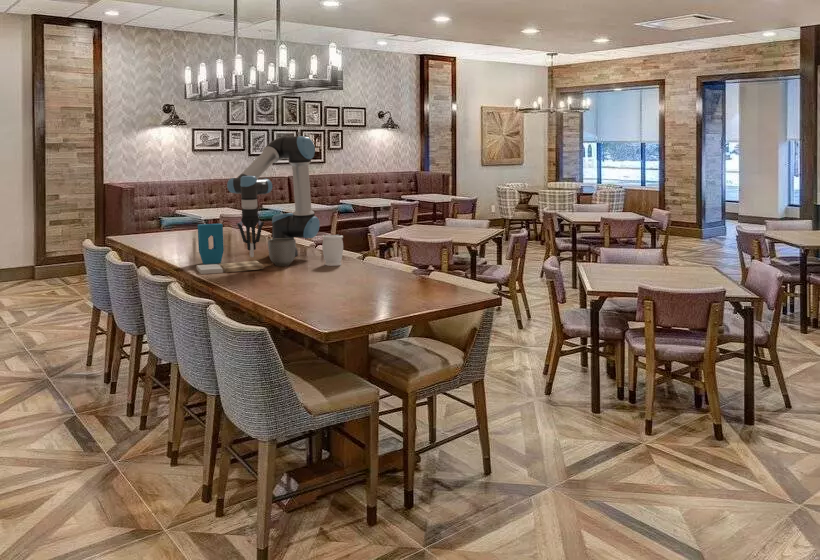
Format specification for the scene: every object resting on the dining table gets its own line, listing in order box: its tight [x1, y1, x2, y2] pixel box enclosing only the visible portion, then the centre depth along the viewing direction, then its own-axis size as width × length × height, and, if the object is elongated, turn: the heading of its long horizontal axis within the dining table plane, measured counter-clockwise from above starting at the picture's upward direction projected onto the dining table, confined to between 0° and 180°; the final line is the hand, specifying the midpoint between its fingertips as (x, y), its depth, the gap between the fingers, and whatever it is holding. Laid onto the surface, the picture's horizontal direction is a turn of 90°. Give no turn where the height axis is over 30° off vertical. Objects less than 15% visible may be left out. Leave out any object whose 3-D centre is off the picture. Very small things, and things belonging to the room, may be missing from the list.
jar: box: [321, 234, 344, 267], centre depth 388 cm, size 11×10×15 cm
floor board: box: [196, 264, 225, 275], centre depth 370 cm, size 11×15×2 cm
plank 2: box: [223, 262, 264, 274], centre depth 371 cm, size 18×6×2 cm, turn 113°
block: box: [197, 223, 225, 265], centre depth 392 cm, size 12×5×20 cm, turn 117°
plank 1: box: [219, 260, 260, 269], centre depth 379 cm, size 18×6×2 cm, turn 113°
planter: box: [267, 238, 297, 267], centre depth 387 cm, size 14×14×13 cm
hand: (251, 256), depth 373 cm, fingers closed
